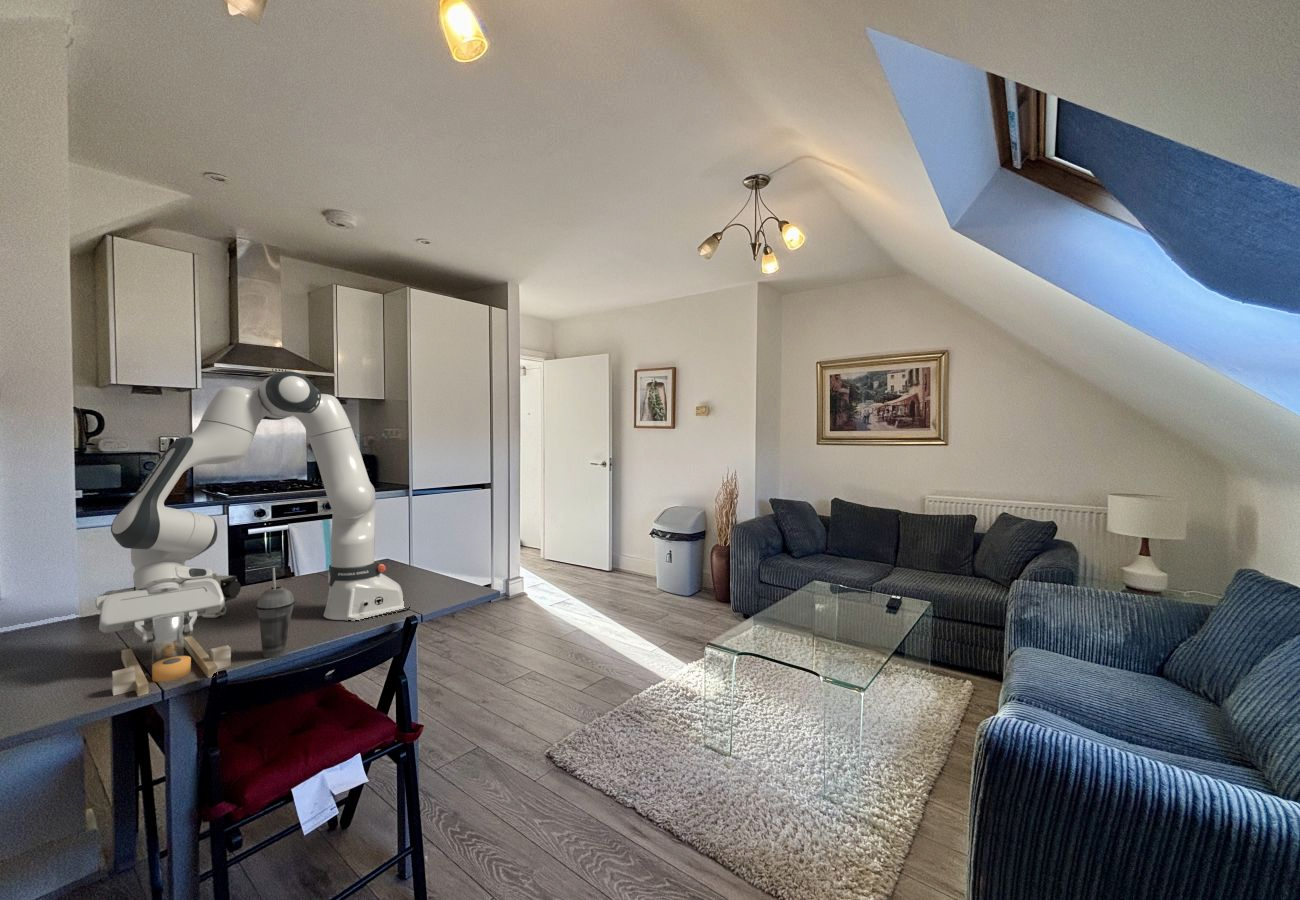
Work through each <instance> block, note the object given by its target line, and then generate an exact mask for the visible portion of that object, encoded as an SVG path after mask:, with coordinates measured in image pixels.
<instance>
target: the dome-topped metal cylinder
mask: <svg viewBox="0 0 1300 900" xmlns="http://www.w3.org/2000/svg"><path fill="white" fill-rule="evenodd" d="M184 625H185V619H184V613H183V612H179V611H177V612H171V613H166V614H160V615H156V616H154V617H153V625H152V629H151V631H153V642H151V666H152V665H153V664H154V663H155V662H157V661H160V660H163V659H166V658H170V657H176V656H184V637H185V635H184Z"/></svg>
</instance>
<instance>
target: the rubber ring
mask: <svg viewBox="0 0 1300 900" xmlns="http://www.w3.org/2000/svg"><path fill="white" fill-rule="evenodd" d="M191 661H192V656H191V655H190V656H189V655H183V656H176V657H170V658H166V659H163V660H160V661H157V662H155V663H154V664H153V665H152V664H151V681H152V682H155V683H160V682H161V683H162V682H164V683H165V682H169V681H170V682H171V681H174V680H178V679H182V678H184V677H186V676H188V675H190V673H191V671H192V662H191Z"/></svg>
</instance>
